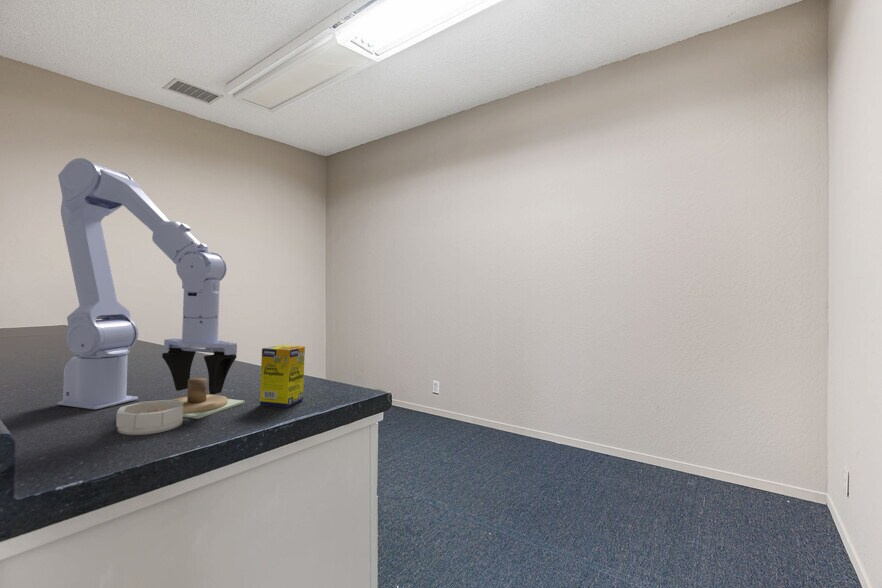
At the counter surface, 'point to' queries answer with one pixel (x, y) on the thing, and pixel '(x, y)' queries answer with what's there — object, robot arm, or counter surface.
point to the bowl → (149, 417)
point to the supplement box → (282, 375)
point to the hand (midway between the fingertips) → (198, 391)
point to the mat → (202, 414)
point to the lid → (200, 397)
